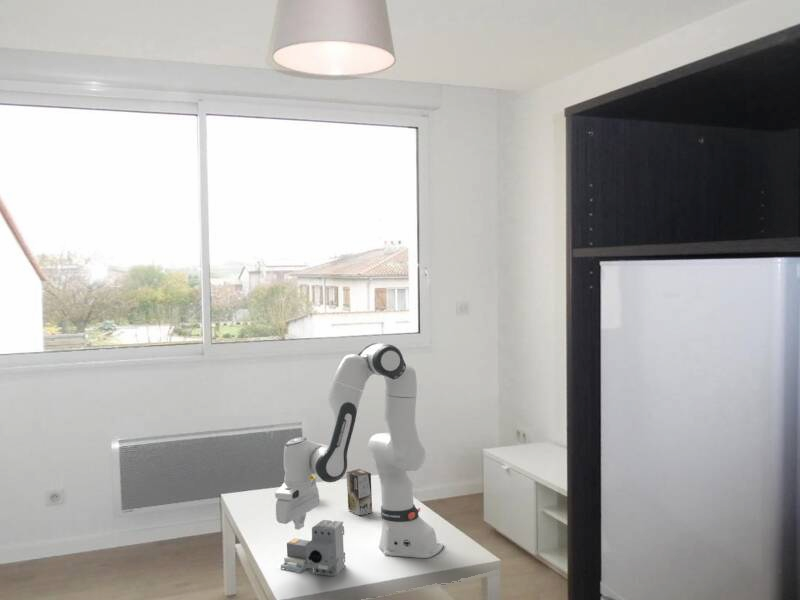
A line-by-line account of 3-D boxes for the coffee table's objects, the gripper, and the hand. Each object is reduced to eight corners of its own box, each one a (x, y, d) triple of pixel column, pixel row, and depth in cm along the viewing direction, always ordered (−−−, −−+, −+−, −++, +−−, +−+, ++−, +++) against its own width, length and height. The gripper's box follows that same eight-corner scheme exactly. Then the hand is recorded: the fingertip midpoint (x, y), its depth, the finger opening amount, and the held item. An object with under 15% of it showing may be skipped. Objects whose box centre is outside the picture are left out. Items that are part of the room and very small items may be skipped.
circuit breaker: (304, 581, 231) (302, 534, 231) (325, 563, 245) (323, 519, 244) (326, 584, 229) (324, 537, 228) (345, 566, 242) (343, 521, 241)
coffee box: (373, 513, 293) (371, 473, 292) (359, 516, 290) (357, 476, 289) (361, 507, 301) (359, 468, 300) (347, 510, 297) (346, 471, 296)
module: (315, 559, 246) (314, 541, 245) (307, 564, 242) (306, 546, 241) (295, 555, 249) (294, 537, 249) (287, 560, 245) (286, 542, 245)
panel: (324, 556, 251) (324, 547, 251) (301, 572, 238) (300, 563, 238) (305, 553, 255) (304, 544, 254) (280, 568, 242) (280, 559, 242)
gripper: (307, 477, 255) (309, 517, 256) (271, 494, 237) (273, 537, 237) (323, 479, 252) (324, 519, 253) (287, 497, 234) (289, 539, 235)
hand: (299, 528), depth 245 cm, fingers closed
